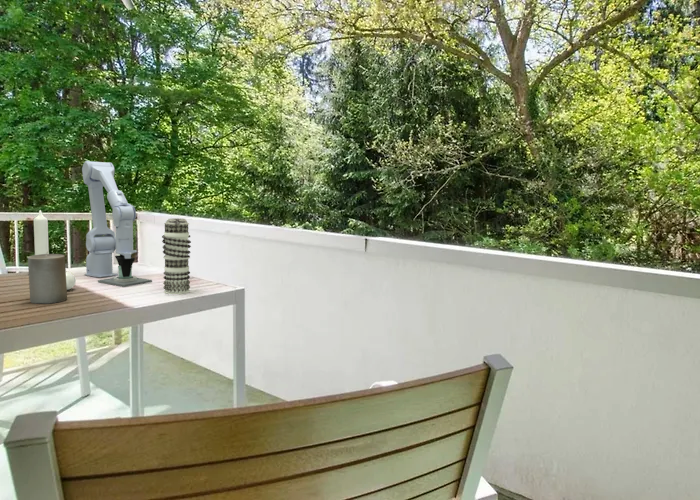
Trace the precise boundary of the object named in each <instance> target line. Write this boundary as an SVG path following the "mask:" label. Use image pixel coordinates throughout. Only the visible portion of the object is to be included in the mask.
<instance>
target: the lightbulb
mask: <svg viewBox="0 0 700 500" xmlns="http://www.w3.org/2000/svg"><path fill="white" fill-rule="evenodd" d="M76 280H77V279H76V276H75V275H74V274H73V273H72V272H70V271H67V270H66V285H67V291H69V290H70V289H72V288H74V287H75V285H76Z"/></svg>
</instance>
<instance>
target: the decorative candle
mask: <svg viewBox="0 0 700 500" xmlns="http://www.w3.org/2000/svg"><path fill="white" fill-rule="evenodd" d="M189 225H190V223H189V222H188V221H187V219H185V218H178V217H177V218H172V217H171V218H168V219H167V220H166V221H165V222H164V232H163V233H164V235H161V238H162V240H161V242H162V244H164V245H162V249H163V250H162V253H163V255H164V256H163V260H164V267H163V268H164V272H163V275H164V276H163V279H164V281H163V285H164V286H163V289H164V291H163V293H164V294H167V295H185V294H188V293H190V292H191V290H190V288H191V286H190V284H191V280H189V279H190V278H191V276H190V274H191V272H190V266H189V259H191V255H190V254H191V251H190V250H189V249H190V248H192V246H191V245H190V243H192V241H191V240H190V239H189V238H191V235H190V232H189Z"/></svg>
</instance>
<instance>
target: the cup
mask: <svg viewBox="0 0 700 500" xmlns="http://www.w3.org/2000/svg"><path fill="white" fill-rule="evenodd" d="M117 269H118V276H119V279H129V278H132V276H133V275H132V273H133V271H132V270H133V266H132V267H131V272H130V276H129V277H123V275H122V270H121V265H120V266H119V265H117Z"/></svg>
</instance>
